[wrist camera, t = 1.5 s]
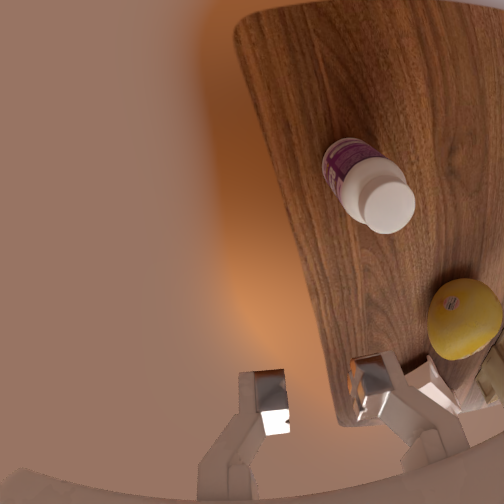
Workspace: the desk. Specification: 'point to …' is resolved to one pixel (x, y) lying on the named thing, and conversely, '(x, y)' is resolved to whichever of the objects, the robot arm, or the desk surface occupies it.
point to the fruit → (463, 318)
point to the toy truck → (433, 386)
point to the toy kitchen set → (493, 373)
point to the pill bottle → (368, 185)
